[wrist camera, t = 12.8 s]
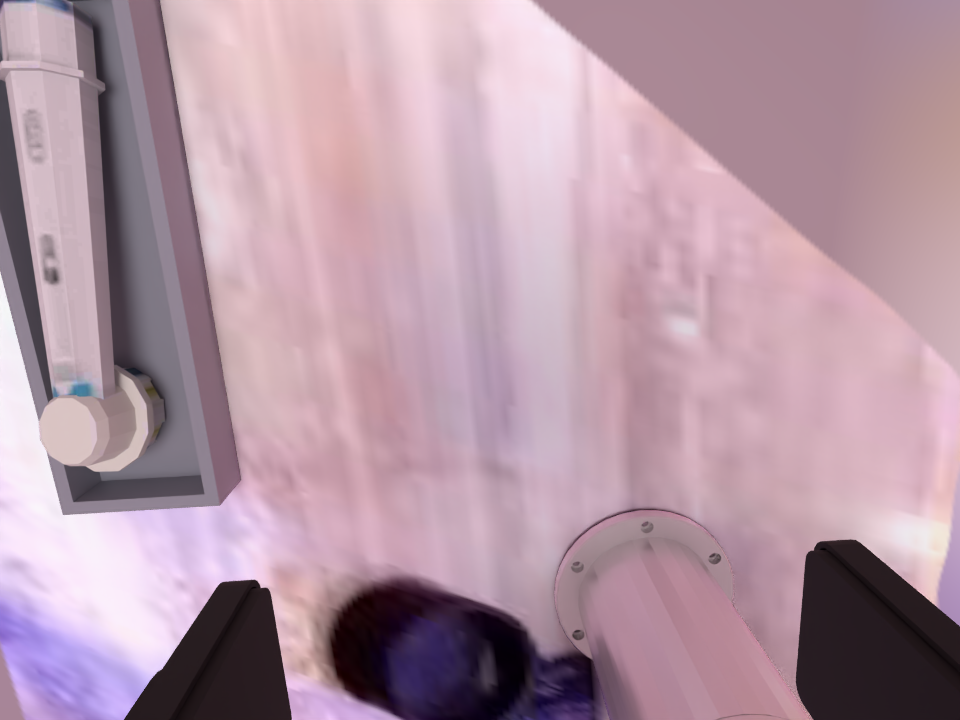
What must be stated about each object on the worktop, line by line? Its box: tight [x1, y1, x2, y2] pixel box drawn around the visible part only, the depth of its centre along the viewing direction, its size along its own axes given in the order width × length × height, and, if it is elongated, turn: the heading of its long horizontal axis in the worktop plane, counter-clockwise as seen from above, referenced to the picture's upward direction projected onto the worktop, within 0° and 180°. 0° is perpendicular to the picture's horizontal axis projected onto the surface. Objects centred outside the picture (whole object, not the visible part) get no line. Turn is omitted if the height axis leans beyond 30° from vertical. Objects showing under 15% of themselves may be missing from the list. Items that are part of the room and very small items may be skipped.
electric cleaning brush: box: [0, 0, 165, 472], centre depth 33 cm, size 5×7×25 cm
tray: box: [0, 0, 241, 515], centre depth 34 cm, size 30×10×4 cm, turn 3°
